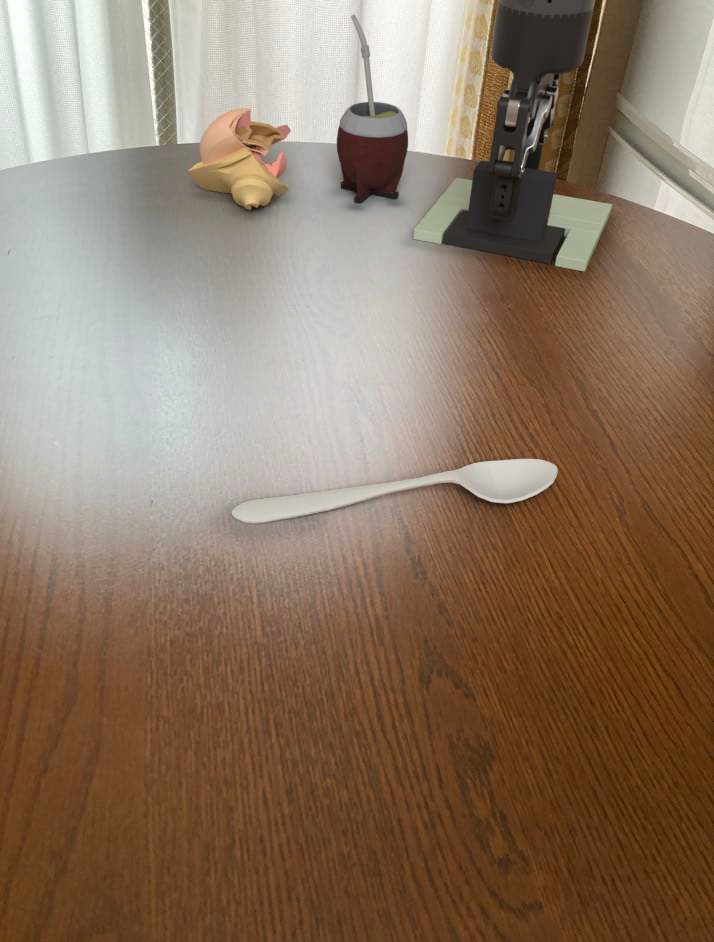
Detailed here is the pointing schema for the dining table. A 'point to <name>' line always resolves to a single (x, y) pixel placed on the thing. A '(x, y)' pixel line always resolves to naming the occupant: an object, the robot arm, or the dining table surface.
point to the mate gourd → (371, 141)
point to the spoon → (482, 479)
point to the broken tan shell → (240, 159)
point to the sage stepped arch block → (566, 212)
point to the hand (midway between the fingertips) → (512, 200)
